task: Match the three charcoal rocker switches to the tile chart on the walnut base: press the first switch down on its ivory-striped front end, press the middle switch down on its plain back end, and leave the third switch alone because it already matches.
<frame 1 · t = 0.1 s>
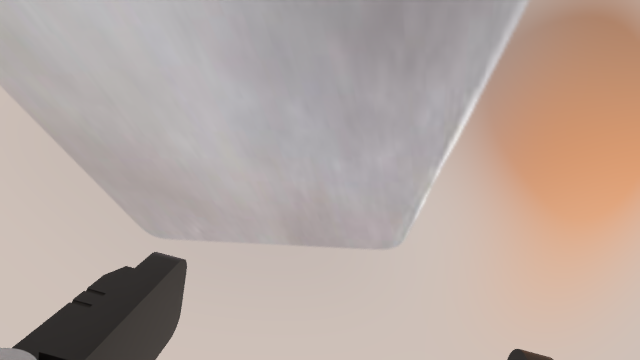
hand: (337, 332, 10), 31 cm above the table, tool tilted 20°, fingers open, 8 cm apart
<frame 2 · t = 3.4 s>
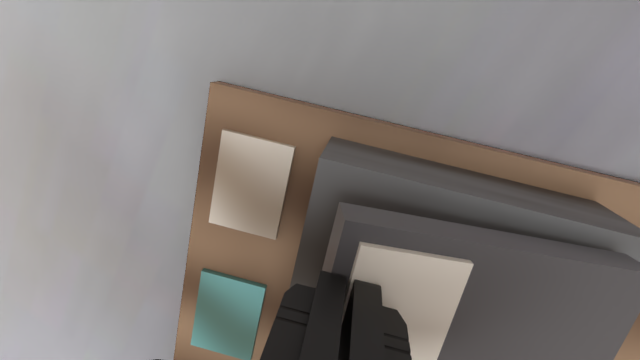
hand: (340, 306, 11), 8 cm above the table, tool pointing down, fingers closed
switch panel: (393, 346, 20), on the table
rocker 1: (466, 307, 12), point 7 cm above the table, hinge at -11.9°, touching gripper
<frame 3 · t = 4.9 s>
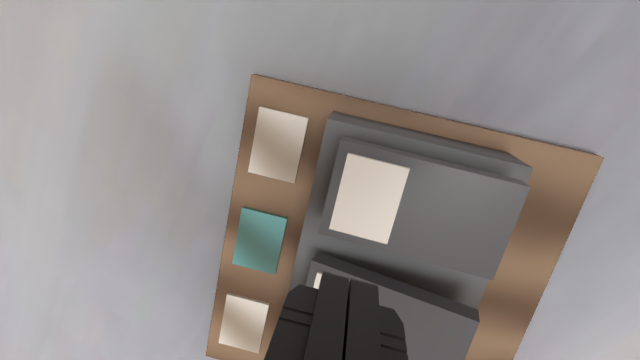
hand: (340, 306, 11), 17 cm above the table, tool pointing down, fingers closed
switch panel: (377, 263, 28), on the table
rocker 1: (416, 205, 20), point 7 cm above the table, hinge at 2.1°
rocker 2: (381, 319, 22), point 7 cm above the table, hinge at 12.0°
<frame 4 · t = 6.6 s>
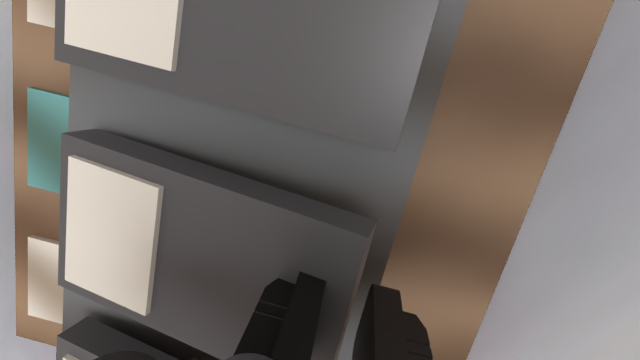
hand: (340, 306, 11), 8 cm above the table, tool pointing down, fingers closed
switch panel: (260, 185, 18), on the table
rocker 2: (206, 252, 12), point 7 cm above the table, hinge at 11.8°, touching gripper
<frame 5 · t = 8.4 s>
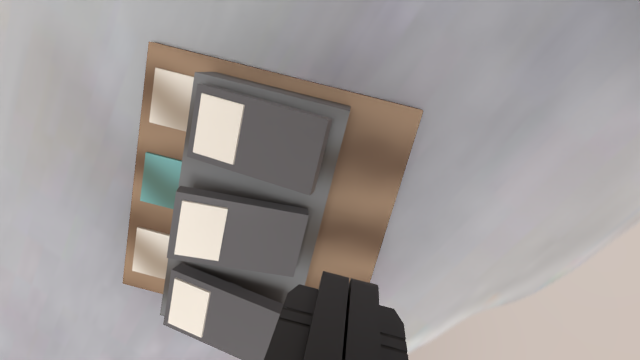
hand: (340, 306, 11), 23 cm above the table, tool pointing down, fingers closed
switch panel: (260, 201, 35), on the table
rocker 1: (258, 137, 26), point 7 cm above the table, hinge at 9.6°
rocker 3: (224, 313, 30), point 7 cm above the table, hinge at 12.0°
rocker 2: (238, 231, 28), point 7 cm above the table, hinge at -11.5°
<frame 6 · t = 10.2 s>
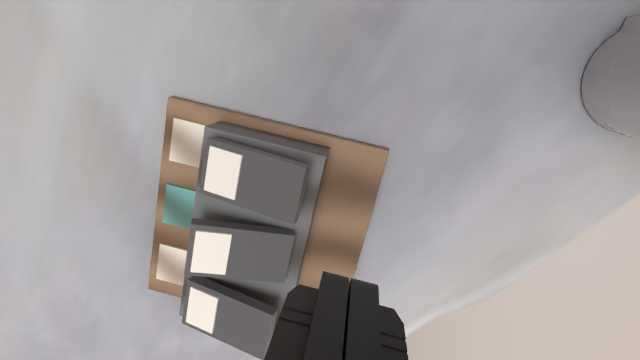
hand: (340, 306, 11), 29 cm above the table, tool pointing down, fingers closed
switch panel: (260, 222, 42), on the table
rocker 1: (254, 178, 34), point 7 cm above the table, hinge at 9.9°
rocker 3: (230, 314, 38), point 7 cm above the table, hinge at 12.0°
rocker 2: (240, 250, 36), point 7 cm above the table, hinge at -18.2°, touching switch panel
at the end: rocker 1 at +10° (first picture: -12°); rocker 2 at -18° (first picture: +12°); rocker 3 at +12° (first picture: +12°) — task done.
